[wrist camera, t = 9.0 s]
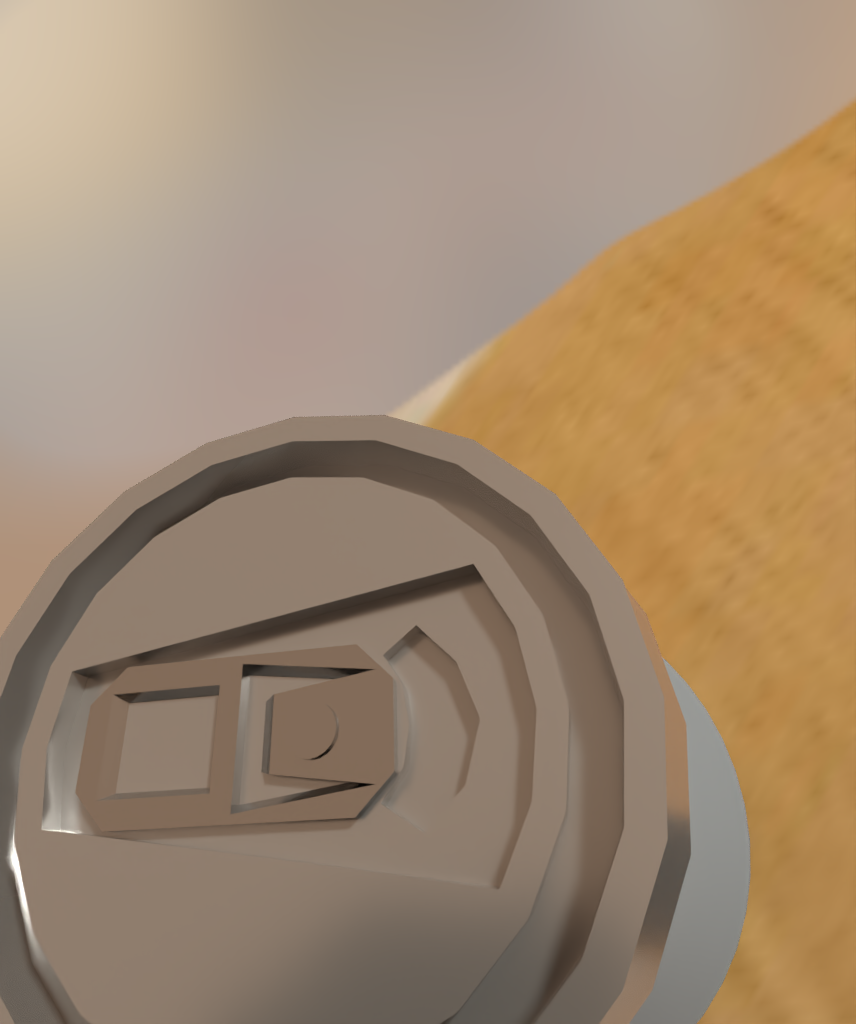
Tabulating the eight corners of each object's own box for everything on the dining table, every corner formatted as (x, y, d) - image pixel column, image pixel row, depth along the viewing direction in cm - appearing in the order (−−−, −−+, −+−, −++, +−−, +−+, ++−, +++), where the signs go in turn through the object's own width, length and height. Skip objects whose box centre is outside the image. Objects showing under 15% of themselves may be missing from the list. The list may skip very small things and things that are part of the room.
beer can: (379, 973, 14) (-219, 1273, 4) (378, 705, 17) (10, 441, 6) (652, 969, 13) (844, 1347, 3) (609, 686, 16) (628, 337, 5)
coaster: (845, 1010, 13) (855, 1016, 13) (341, 1167, 14) (331, 1178, 13) (625, 548, 18) (626, 538, 17) (260, 676, 18) (250, 670, 18)
